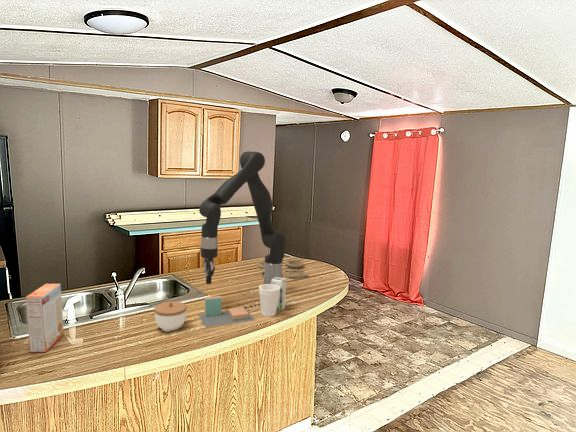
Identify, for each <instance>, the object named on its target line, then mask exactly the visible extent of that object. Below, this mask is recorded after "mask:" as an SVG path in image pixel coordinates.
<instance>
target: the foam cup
mask: <svg viewBox="0 0 576 432" xmlns="http://www.w3.org/2000/svg"><path fill="white" fill-rule="evenodd" d="M258 293H259V301H260V313H261V316H263V317H273V316H276V315H277V305H278V299H279V293H280V287H279V286H278V285H274V284H264V283H263V284H261V285H259V287H258Z"/></svg>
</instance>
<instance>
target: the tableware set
mask: <svg viewBox="0 0 576 432" xmlns="http://www.w3.org/2000/svg"><path fill="white" fill-rule="evenodd" d="M303 261H304V259H285V260H284V262H285V264H286V265H287V266H288V267H289V269H285V270H284V271H285V276H286V277H288V278H290V279H291V278H293V279H303V278H306V277H309V274H308V273H307V272H305V271H306V270H305V269H304V270H303V269H301V267H302V266H304V264H305V263H304V262H303ZM257 265H258V267H259V268H261V273H262V274H264V268H265V261H258V264H257Z"/></svg>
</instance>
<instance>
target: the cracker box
mask: <svg viewBox="0 0 576 432" xmlns="http://www.w3.org/2000/svg"><path fill="white" fill-rule="evenodd" d="M62 299H63V298H62V286H61V283H45V284H43V285H42V286H40V287H39V288H37V289H35V290H34V291H32V292H31V293H30V294H27V295H26V296H25V306H26V307H25V308H26V317H27V318H26V319H27V328H28V329H27V331H28V332H27V333H28V343H29V352H30V353H47V352H48V351H49V350H50V349H51V348H52V347H53V346H54V345H55V344H56V343H57V342H58V341H59V340H60V339H61V338H62V337H63V336H64V335H65V332H64V319H63V316H64V315H63V303H62Z"/></svg>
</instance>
